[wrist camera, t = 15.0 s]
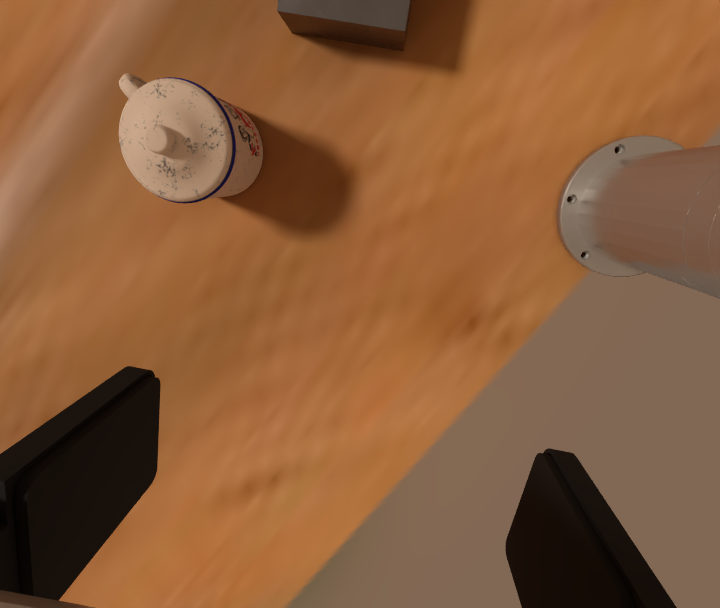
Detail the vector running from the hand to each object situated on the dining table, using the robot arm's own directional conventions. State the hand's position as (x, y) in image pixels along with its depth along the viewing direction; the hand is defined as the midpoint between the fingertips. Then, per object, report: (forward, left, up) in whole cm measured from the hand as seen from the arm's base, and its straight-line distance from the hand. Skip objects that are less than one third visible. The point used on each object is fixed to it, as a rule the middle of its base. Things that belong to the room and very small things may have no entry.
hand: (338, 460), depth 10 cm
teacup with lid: (+18, -8, -33) cm, 39 cm away
